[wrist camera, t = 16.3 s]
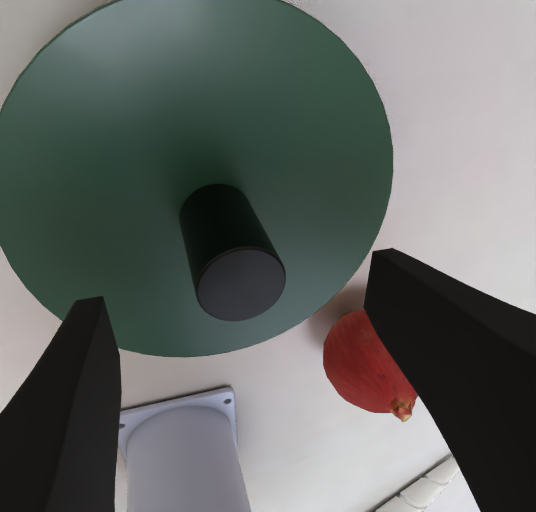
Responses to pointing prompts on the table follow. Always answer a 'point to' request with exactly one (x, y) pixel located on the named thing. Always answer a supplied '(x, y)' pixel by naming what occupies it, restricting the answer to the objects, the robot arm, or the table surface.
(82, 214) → the lid
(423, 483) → the unicorn horn
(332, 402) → the table surface
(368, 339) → the onion
